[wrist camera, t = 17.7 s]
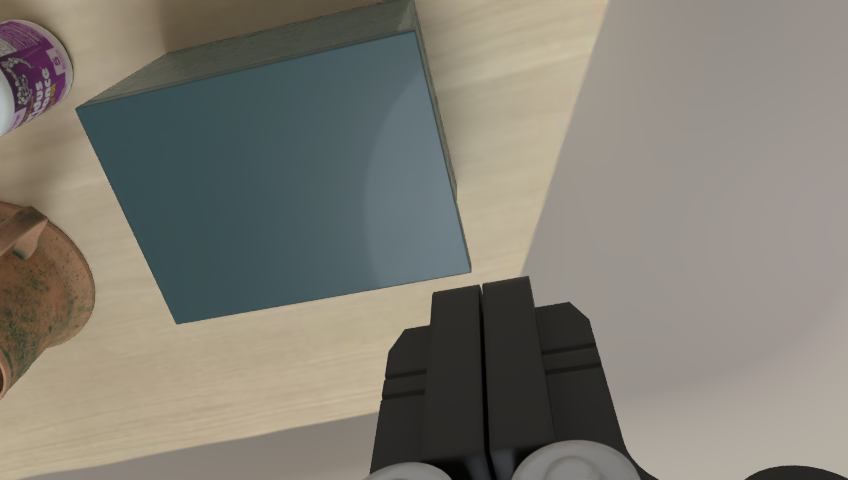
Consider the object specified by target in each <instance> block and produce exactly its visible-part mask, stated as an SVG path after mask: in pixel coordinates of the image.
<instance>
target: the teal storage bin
mask: <svg viewBox="0 0 848 480" xmlns="http://www.w3.org/2000/svg"><path fill="white" fill-rule="evenodd" d="M412 27H416V28H417V32H418V36H419V40H420V45H421V49H422V53H423V58H424V62H425V66H426V71H427V75H428V79H429V84H430V88H431V92H432V97H433V101H434V105H435V109H436V114H437V118H438V122H439V127H440V131H441V135H442V140H443V144H444V148H445V153H446V157H447V161H448V166H449V170H450V174H451V179H452V183H453V187H454V192H455V196H456V200H457V186H456V181H455V177H454V172H453V168H452V164H451V159H450V155H449V151H448V146H447V142H446V137H445V133H444V129H443V124H442V120H441V116H440V111H439V107H438V102H437V98H436V94H435V89H434V85H433V81H432V76H431V72H430V68H429V63H428V59H427V54H426V50H425V46H424V41H423V37H422V33H421V28H420V24H419V19H418V15H417V11H416V6H415V2H414V0H390V1H385V2H381V3H377V4H373V5H369V6H364V7H360V8H356V9H352V10H348V11H343V12H339V13H335V14H331V15H327V16H322V17H318V18H314V19H310V20H306V21H301V22H297V23H293V24H289V25H285V26H280V27H276V28H272V29H268V30H264V31H259V32H255V33H251V34H247V35H243V36H238V37H234V38H230V39H226V40H222V41H217V42H213V43H209V44H205V45H201V46H196V47H192V48H188V49H184V50H180V51H175V52H171V53H167V54H165V55H163V56H162V57H160V58H158V59H156V60H155V61H153V62H151V63H150V64H148V65H147V66H145V67H143V68H142V69H140V70H138V71H137V72H135V73H133V74H132V75H130V76H128V77H127V78H125V79H123V80H122V81H120V82H118V83H117V84H115V85H113V86H112V87H110V88H108V89H107V90H105V91H103V92H102V93H100V94H98V95H97V96H95V97H93V98H92V99H90V100H88V101H87V102H85V103H88V102H92V101H97V100H101V99H105V98H110V97H114V96H118V95H123V94H127V93H131V92H136V91H140V90H144V89H149V88H153V87H157V86H162V85H166V84H170V83H174V82H179V81H183V80H187V79H192V78H196V77H200V76H205V75H209V74H213V73H218V72H222V71H226V70H231V69H235V68H239V67H244V66H248V65H252V64H257V63H261V62H265V61H270V60H274V59H278V58H282V57H287V56H291V55H295V54H300V53H304V52H308V51H313V50H317V49H321V48H326V47H330V46H334V45H339V44H343V43H347V42H352V41H356V40H360V39H365V38H369V37H373V36H378V35H382V34H386V33H390V32H395V31H399V30H403V29H408V28H412Z"/></svg>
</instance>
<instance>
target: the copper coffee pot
mask: <svg viewBox="0 0 848 480" xmlns="http://www.w3.org/2000/svg"><path fill="white" fill-rule="evenodd" d="M94 301H95V287H94V282H93V278H92V274H91V272H90V269H89V267H88V265H87V263H86V261H85V259H84V257H83V256H82V254H81V253H80V251H79V250H78V248H77V247H76V246H75V245H74V243H73V242H72V241H71V240H70V239H69V238H68V237H67V236H66V235H65V234H64V233H63V232H62V231H61V230H59V229H58V228H57V227H56V226H54V225H53V224H52V223H50V222H49V221H48V218H47V217H46V216H45V215H43V214H42V213H40V212H39V211H38V210H36V209H35V208H33V207H32V206H29V207H25V208H21V207H18V206H14V205H11V204H6V203H1V202H0V400H1V399H2V398H3V396H4V395H5V394H6V392H7V391H8V390H9V389H10V388H11V387H12V386H13V385H14V384H15V382H16V381H17V380H18V379H19V378H20V377H21V376H22V375H23V374H24V373H25V372H26V371H27V370H28V369H29V367H30V366H31V364H32V363H33V362H34V361H35V360H36V359H37V358H38V357H39V355H40V354H41V353H42V352H43V351H44V350H45V349H46V348H49V347H53V346H56V345H59V344H62V343H64V342H66V341H68V340H69V339H71V338H72V337H74V336H75V335H76V334H77V333H78V332H79V331H80V330H81V329H82V328H83V327H84V325H85V324H86V323H87V321H88V319H89V318H90V316H91V313H92V310H93V307H94Z"/></svg>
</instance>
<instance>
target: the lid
mask: <svg viewBox="0 0 848 480" xmlns="http://www.w3.org/2000/svg"><path fill="white" fill-rule="evenodd" d="M75 110H76V113H77V115H78V117H79V119H80V121H81V123H82V125H83V127H84V129H85V132H86V134H87V136H88V138H89V140H90V142H91V144H92V146H93V149H94V151H95V153H96V155H97V157H98V159H99V161H100V163H101V166H102V168H103V170H104V172H105V174H106V176H107V178H108V180H109V183H110V185H111V187H112V189H113V191H114V193H115V195H116V197H117V200H118V202H119V204H120V206H121V208H122V210H123V212H124V214H125V217H126V219H127V221H128V223H129V225H130V227H131V229H132V231H133V233H134V236H135V238H136V240H137V242H138V244H139V246H140V248H141V250H142V253H143V255H144V257H145V259H146V261H147V263H148V265H149V267H150V270H151V272H152V274H153V276H154V278H155V280H156V282H157V284H158V287H159V289H160V291H161V293H162V295H163V297H164V299H165V301H166V304H167V306H168V308H169V310H170V312H171V314H172V316H173V318H174V321H175V323H176V324H182V323H188V322H194V321H199V320H205V319H211V318H216V317H222V316H228V315H233V314H239V313H245V312H250V311H256V310H262V309H267V308H273V307H279V306H284V305H290V304H296V303H301V302H307V301H313V300H318V299H324V298H330V297H335V296H341V295H347V294H353V293H358V292H364V291H370V290H375V289H381V288H387V287H392V286H398V285H404V284H409V283H415V282H421V281H426V280H432V279H438V278H443V277H449V276H455V275H460V274H466V273H471V261H470V257H469V252H468V248H467V244H466V239H465V235H464V231H463V226H462V222H461V218H460V213H459V209H458V205H457V200H456V196H455V192H454V187H453V183H452V179H451V174H450V170H449V166H448V161H447V157H446V153H445V148H444V144H443V140H442V135H441V131H440V127H439V122H438V118H437V114H436V109H435V105H434V101H433V97H432V92H431V88H430V84H429V79H428V75H427V71H426V66H425V62H424V58H423V53H422V49H421V45H420V40H419V36H418V32H417V28H416V27H412V28H408V29H403V30H399V31H395V32H390V33H386V34H382V35H378V36H373V37H369V38H365V39H360V40H356V41H352V42H347V43H343V44H339V45H334V46H330V47H326V48H321V49H317V50H313V51H308V52H304V53H300V54H295V55H291V56H287V57H282V58H278V59H274V60H270V61H265V62H261V63H257V64H252V65H248V66H244V67H239V68H235V69H231V70H226V71H222V72H218V73H213V74H209V75H205V76H200V77H196V78H192V79H187V80H183V81H179V82H174V83H170V84H166V85H162V86H157V87H153V88H149V89H144V90H140V91H136V92H131V93H127V94H123V95H118V96H114V97H110V98H105V99H101V100H97V101H92V102H88V103H84V104H82V105H80V106H78V107H77V108H75Z"/></svg>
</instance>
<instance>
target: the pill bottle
mask: <svg viewBox="0 0 848 480" xmlns="http://www.w3.org/2000/svg"><path fill="white" fill-rule="evenodd" d="M72 80H73V71H72V65H71V62H70V60H69V57H68V54H67V53H66V51H65V49H64V47H63V46H62V44H61V43H60V42H59V41H58V40H57V39H56V38H55V37H54V35H52V34H51V33H50V32H49V31H47V30H46V29H44V28H43V27H41V26H39V25H37V24H35V23H32V22H29V21H25V20H18V19H12V20H5V21H1V22H0V137H1V136H3V135H5V134H6V133H8V132H10V131H12V130H13V129H15V128H17V127H19V126H21V125H23V124H25V123H27V122H29V121H30V120H32V119H34V118H35V117H37V116H39V115H40V114H42V113H44V112H46V111H48V110H49V109H51V108H53V107H54V106H56V105H58V104H59V103H60V102H61V101H62V100H63V99H64V98H65V97H66V96H67V94H68V92H69V91H70V88H71V84H72Z"/></svg>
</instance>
